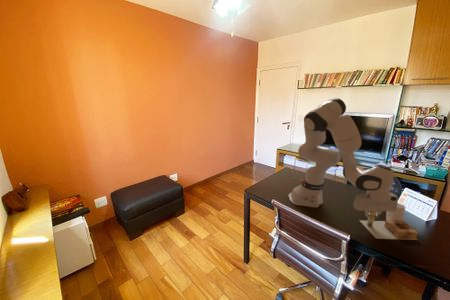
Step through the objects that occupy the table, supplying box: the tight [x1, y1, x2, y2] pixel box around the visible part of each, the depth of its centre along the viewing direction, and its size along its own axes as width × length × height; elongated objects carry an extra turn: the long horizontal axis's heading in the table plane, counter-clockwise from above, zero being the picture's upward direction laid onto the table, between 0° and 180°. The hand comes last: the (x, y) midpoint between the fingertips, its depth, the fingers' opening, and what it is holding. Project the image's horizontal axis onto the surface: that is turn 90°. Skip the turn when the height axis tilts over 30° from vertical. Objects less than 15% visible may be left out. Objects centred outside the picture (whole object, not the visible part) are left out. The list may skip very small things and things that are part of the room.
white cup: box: [385, 203, 406, 221], centre depth 107 cm, size 8×8×10 cm
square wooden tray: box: [384, 220, 419, 240], centre depth 99 cm, size 9×9×4 cm
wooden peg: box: [366, 211, 377, 227], centre depth 103 cm, size 3×3×12 cm
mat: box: [359, 219, 418, 241], centre depth 102 cm, size 20×14×1 cm
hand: (371, 216), depth 104 cm, fingers closed on wooden peg, 3 cm apart
